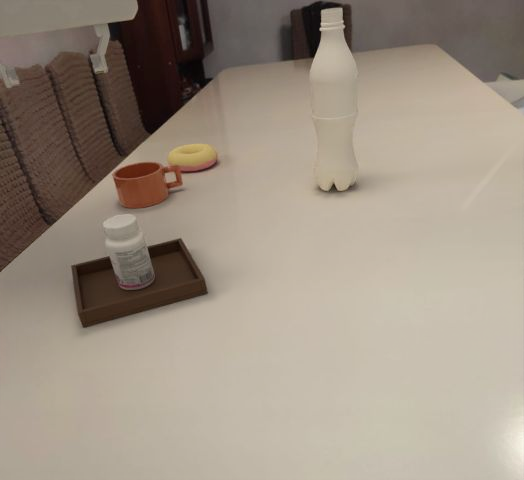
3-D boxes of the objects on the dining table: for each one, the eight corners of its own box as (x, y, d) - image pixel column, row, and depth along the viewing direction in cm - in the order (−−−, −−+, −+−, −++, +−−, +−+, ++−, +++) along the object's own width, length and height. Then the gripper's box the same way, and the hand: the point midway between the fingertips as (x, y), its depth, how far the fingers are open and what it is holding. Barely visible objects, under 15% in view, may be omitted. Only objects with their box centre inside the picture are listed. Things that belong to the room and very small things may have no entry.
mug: (123, 212, 90) (115, 183, 87) (117, 196, 96) (109, 168, 93) (189, 196, 92) (183, 168, 89) (178, 182, 99) (173, 155, 96)
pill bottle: (119, 276, 70) (100, 216, 65) (155, 270, 70) (139, 209, 65) (118, 294, 66) (98, 232, 61) (156, 287, 67) (139, 224, 62)
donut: (200, 185, 102) (227, 162, 107) (197, 163, 98) (225, 140, 103) (160, 173, 106) (188, 151, 111) (155, 151, 102) (184, 130, 107)
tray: (83, 327, 62) (77, 313, 61) (75, 278, 72) (71, 265, 71) (207, 293, 65) (204, 279, 64) (183, 250, 75) (181, 237, 74)
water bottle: (310, 194, 87) (300, 15, 72) (319, 178, 92) (312, 8, 77) (354, 194, 85) (353, 10, 70) (361, 178, 90) (361, 3, 75)
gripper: (116, -89, 55) (146, 61, 63) (-98, -69, 51) (-36, 89, 59) (124, -95, 50) (155, 68, 58) (-112, -73, 46) (-42, 100, 54)
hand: (58, 79), depth 59 cm, fingers open, 8 cm apart
